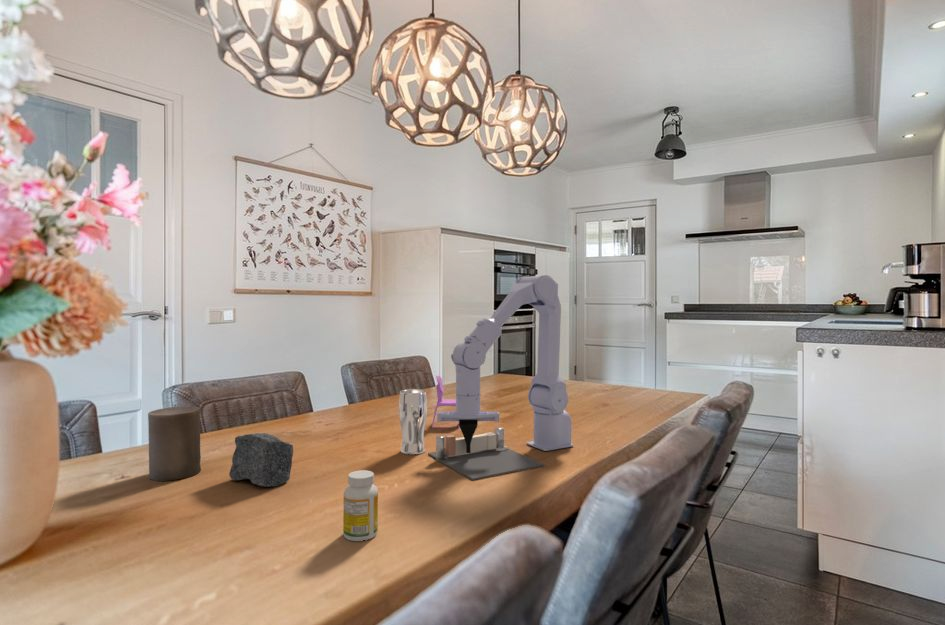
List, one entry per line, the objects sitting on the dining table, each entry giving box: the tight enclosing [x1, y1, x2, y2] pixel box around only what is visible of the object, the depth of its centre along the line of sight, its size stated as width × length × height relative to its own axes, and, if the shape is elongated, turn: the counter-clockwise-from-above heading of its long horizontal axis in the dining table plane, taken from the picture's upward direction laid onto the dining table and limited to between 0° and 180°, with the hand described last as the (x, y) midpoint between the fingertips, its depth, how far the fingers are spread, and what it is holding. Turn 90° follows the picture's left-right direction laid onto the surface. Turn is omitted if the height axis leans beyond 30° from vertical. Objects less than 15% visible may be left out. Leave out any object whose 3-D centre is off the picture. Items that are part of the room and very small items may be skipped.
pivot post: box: [491, 426, 509, 451], centre depth 128 cm, size 4×4×6 cm
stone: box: [228, 432, 294, 488], centre depth 105 cm, size 12×8×10 cm, turn 64°
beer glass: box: [398, 388, 428, 456], centre depth 127 cm, size 7×7×15 cm
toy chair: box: [431, 375, 460, 429], centre depth 154 cm, size 8×9×15 cm
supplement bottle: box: [342, 469, 379, 542], centre depth 81 cm, size 5×5×10 cm
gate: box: [444, 432, 496, 456], centre depth 124 cm, size 13×2×4 cm, turn 122°
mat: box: [428, 448, 546, 481], centre depth 120 cm, size 19×21×1 cm
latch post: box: [435, 435, 447, 463], centre depth 121 cm, size 4×3×6 cm
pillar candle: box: [147, 404, 202, 482], centre depth 110 cm, size 10×10×15 cm
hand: (468, 451), depth 120 cm, fingers closed
